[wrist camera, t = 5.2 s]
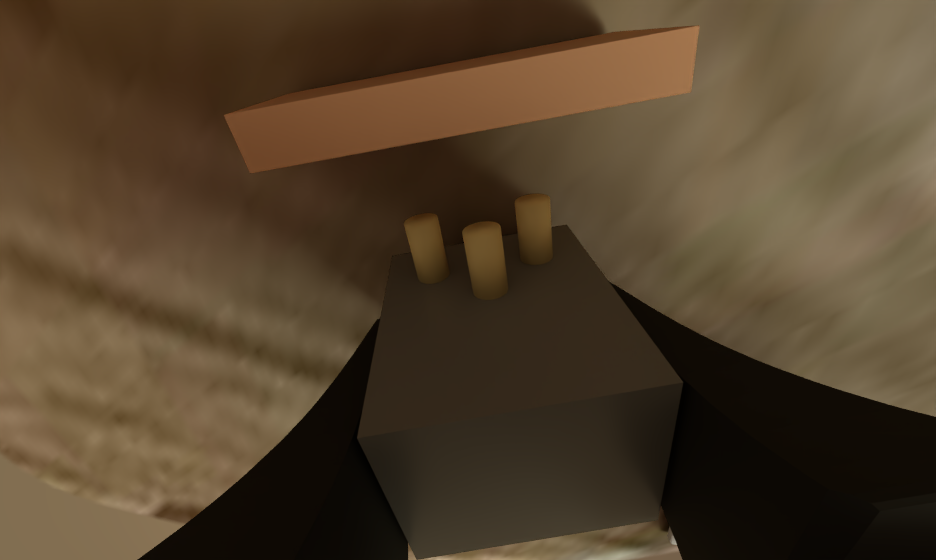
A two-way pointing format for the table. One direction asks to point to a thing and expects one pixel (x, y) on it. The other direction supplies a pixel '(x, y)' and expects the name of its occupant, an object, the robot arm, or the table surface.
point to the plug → (513, 390)
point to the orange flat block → (465, 97)
